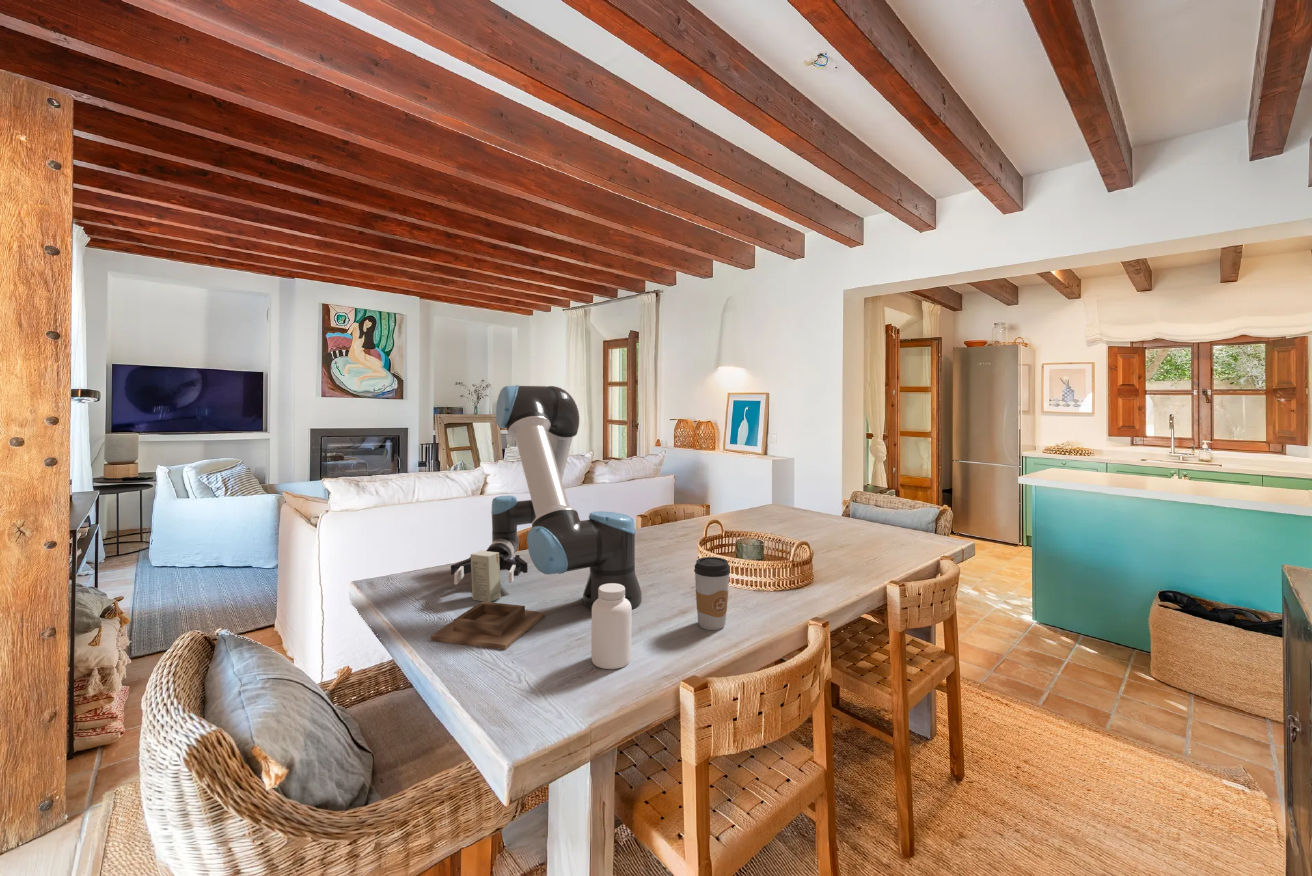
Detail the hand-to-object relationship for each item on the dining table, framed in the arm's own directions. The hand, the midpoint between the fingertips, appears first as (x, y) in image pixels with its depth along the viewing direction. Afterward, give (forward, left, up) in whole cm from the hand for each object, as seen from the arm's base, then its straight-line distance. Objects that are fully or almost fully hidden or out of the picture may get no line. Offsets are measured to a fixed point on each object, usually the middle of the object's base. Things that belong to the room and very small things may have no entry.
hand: (483, 578), depth 136 cm
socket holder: (-10, +13, -7) cm, 18 cm away
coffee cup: (-59, -1, -7) cm, 59 cm away
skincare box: (+1, -3, -7) cm, 7 cm away
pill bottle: (-42, +21, -7) cm, 47 cm away
